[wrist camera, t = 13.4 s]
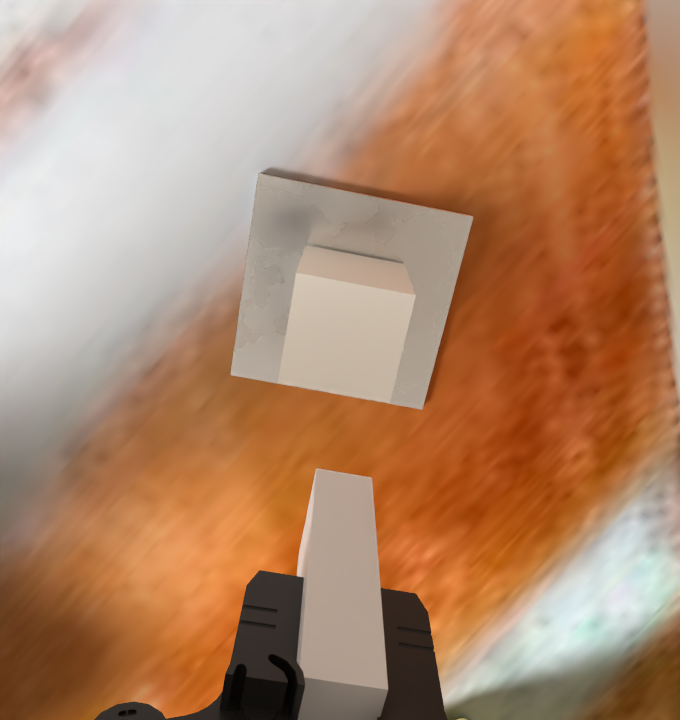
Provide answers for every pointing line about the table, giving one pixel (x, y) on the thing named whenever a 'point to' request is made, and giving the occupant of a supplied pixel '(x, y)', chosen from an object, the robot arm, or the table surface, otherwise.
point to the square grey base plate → (355, 236)
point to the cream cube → (346, 324)
